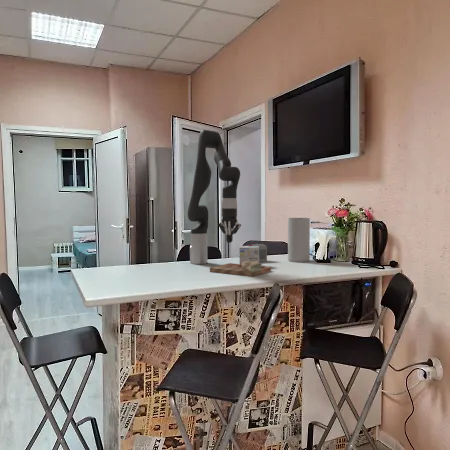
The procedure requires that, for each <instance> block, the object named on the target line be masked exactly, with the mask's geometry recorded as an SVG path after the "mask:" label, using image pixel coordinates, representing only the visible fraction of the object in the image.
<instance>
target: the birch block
mask: <svg viewBox="0 0 450 450" xmlns="http://www.w3.org/2000/svg"><path fill="white" fill-rule="evenodd" d="M259 263H260V262H258V261H245V262H242V271H251V266H252V265H256V264H259Z"/></svg>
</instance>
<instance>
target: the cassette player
mask: <svg viewBox="0 0 450 450" xmlns="http://www.w3.org/2000/svg"><path fill="white" fill-rule="evenodd" d="M248 246H259V261H261V262H268V245H265V244H263V243H260V244H259V243H258V244H249V245H248Z"/></svg>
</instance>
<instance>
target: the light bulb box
mask: <svg viewBox="0 0 450 450" xmlns="http://www.w3.org/2000/svg"><path fill="white" fill-rule="evenodd" d="M238 255H239V264H242V262H245V261H258V262H259V246H249V245H240V246H239V254H238ZM259 263H260V262H259Z"/></svg>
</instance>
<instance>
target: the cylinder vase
mask: <svg viewBox="0 0 450 450" xmlns="http://www.w3.org/2000/svg"><path fill="white" fill-rule="evenodd" d="M310 219H311V218H310V217H288V218H287V260H288V262H291V261H292V262H291V263H306V262H307V263H308V262H309V261H310V259H311V258H310V257H311V256H310V252H311V251H310V247H311V246H310V245H311V244H310V242H311V241H310V238H311V237H310V231H311V229H310V226H311V225H310Z"/></svg>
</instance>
